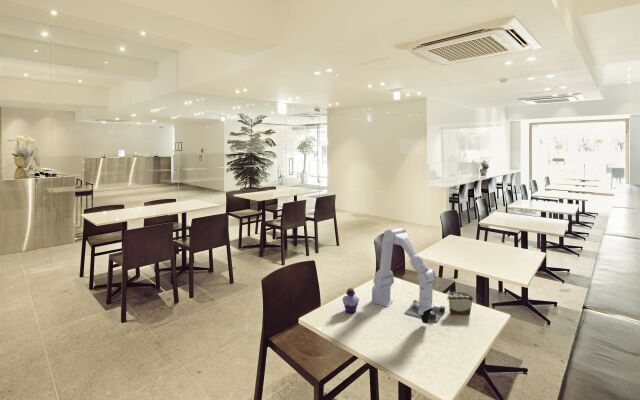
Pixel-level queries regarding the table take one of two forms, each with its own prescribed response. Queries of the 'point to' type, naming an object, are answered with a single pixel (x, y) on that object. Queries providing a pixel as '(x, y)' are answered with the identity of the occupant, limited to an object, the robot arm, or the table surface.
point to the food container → (460, 303)
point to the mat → (414, 312)
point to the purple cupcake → (350, 301)
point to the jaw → (416, 305)
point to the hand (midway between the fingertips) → (425, 322)
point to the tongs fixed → (437, 308)
